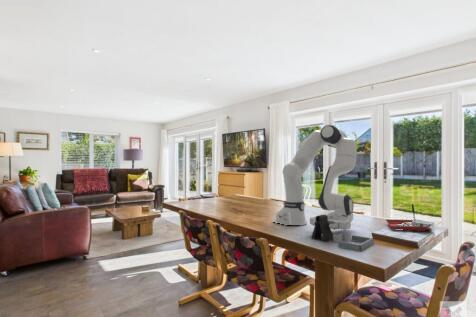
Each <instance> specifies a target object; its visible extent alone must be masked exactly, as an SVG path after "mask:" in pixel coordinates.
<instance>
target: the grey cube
mask: <svg viewBox="0 0 476 317" xmlns="http://www.w3.org/2000/svg"><path fill="white" fill-rule="evenodd" d="M332 235H333V238H334V240H333V243H334V244H339V243H338V241H342V242H346V233H342V232H336V233H334V234H333V233H332Z"/></svg>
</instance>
